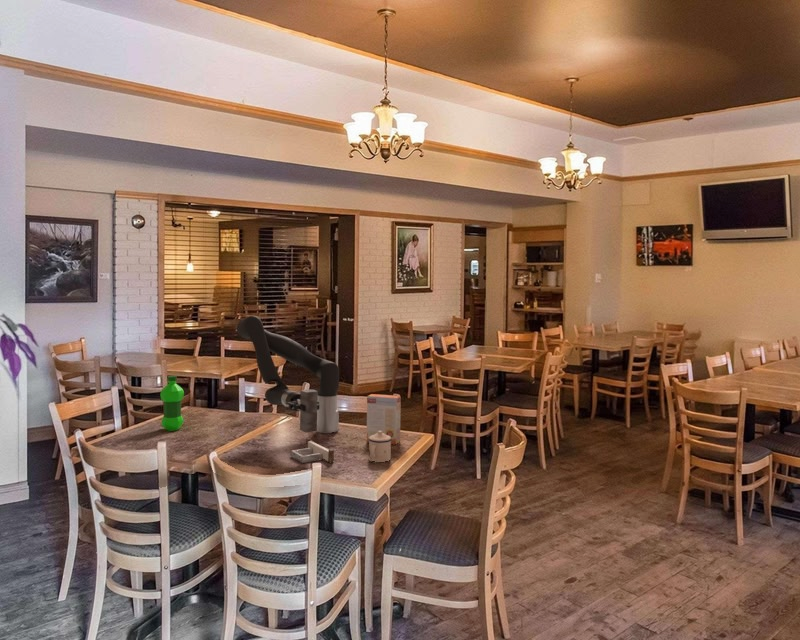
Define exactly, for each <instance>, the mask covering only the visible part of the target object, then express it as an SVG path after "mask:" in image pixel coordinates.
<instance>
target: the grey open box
mask: <svg viewBox="0 0 800 640" xmlns="http://www.w3.org/2000/svg"><path fill="white" fill-rule="evenodd" d="M308 441H312V439H311V437H307V438H305V448H298V449H293V450H290V458H292V457H293V458H292V459H294V460H296V461H297V460H298V462H300V463H301V464H304V463H310V462H317V461H320V460H319V459H323V453H317V454H313V453H312V448H308ZM328 450H329V462H333V461H334V462H335V459H334V458H335V456H334V455H335V450H334V449H332V448H331V449H328ZM316 460H317V461H316ZM323 460H324V459H323ZM329 462H328V463H329Z"/></svg>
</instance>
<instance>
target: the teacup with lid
mask: <svg viewBox="0 0 800 640" xmlns="http://www.w3.org/2000/svg"><path fill="white" fill-rule="evenodd" d="M368 443H369V444H368V460H369V459H370V460H371V461H370V460H369V461H370V462H372V461H376V462H384V463H386V462H385V461H388V462H389V460H390V461H391V455H392V454H391V451H392V450H391V448H392V447H391V446H392V445H391V437H390V436H388V435H386V434H384V433H383V432H382V431H378V433H376V434H374V435H372V436H370V437H369V442H368ZM376 462H375V463H376Z"/></svg>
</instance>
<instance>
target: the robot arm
mask: <svg viewBox="0 0 800 640" xmlns="http://www.w3.org/2000/svg"><path fill="white" fill-rule="evenodd" d="M236 331H237V333H238V335H239V336H240V337H241V338H243V339H245V340H247V341H249V342H252V345H253V347H254V351H255V356H256V357H255V358H256V364H257V369H258V371H259V374H260V376H261V379H262V381H263V382H264V383H265V384H269V383H275V386H274V385H273V386H272V387H269V388H268V389H266V391H265V393H264V398H265V401H266V402H267V403H269V404H270V405H273V406H284V407H285V409H287V410H291V411H294V412H300V410H302V411H304V412H305V411H306V406H305V405H302V404H301V403H300V402H301V392H297V391H295V390H291V389H289V387H288V386H287V384H286V383H285V382H284V381H283V379H282V377H281V376H280V374H279V372H278V370H277V367H276V365H275V363H274V361H273V358H272V355H271V353H274V354H275V355H277V356H279V357H281V358H282V359H284V360H286V361H288V362H290V363H292V364H294V365H297V366H299V367H303V368H304V369H307V371H309V372H311V373H312V374H313V375H315V376H317V377H318V378H319V379H320V381H319V382H320V385H319V388H318V389H317V391H318V402H317V431H316V432H318V433H321V434H332V432H334V433H336V432H339V421H340V419H339V417H340V415H339V414H340V412H339V410H338V391H339V388H340V367H339V366H338V364H337V363H336V362H333V361H331V360H328V359H324V358H322V357H320V356H317V355H315V354H313V353H311V352H310V351H309V350H308V349H307V348H306V347H304V346H303V345H302V344H301V343H299V342H297V341H295V340H293V339H291V338H289V337H287V336H285V335H281V334H277V333H273V332H270V331H268V330H267V329H265V328H264V324H263V321H262V320H261V318H260V317H258V316H256V315H249V316H247V317H245V318H243V319H241V320H239V321H238V322H237V324H236Z"/></svg>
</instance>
